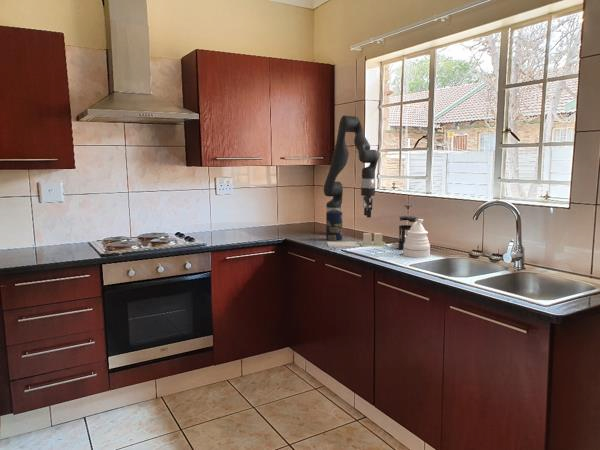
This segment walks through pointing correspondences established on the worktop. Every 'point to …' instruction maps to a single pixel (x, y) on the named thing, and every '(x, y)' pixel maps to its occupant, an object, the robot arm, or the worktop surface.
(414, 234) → the honey pot
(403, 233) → the french press
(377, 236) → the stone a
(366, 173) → the robot arm
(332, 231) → the canister
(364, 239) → the beige block
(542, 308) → the worktop surface
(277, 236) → the worktop surface
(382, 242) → the bin
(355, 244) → the bin
